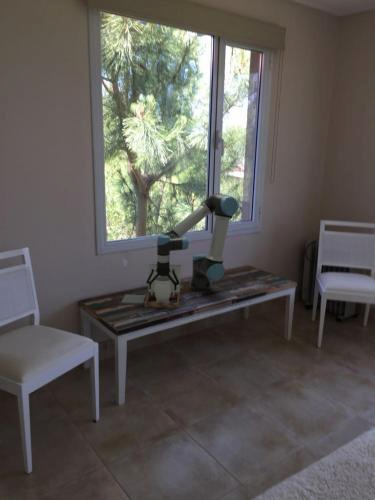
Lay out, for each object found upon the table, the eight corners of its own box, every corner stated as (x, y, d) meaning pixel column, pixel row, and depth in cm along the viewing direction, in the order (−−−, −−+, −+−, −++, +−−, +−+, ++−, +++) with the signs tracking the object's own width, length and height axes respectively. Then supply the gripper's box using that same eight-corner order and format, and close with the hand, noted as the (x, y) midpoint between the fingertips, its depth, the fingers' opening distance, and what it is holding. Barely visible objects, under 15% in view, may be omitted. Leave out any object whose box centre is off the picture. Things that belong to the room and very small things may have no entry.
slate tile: (145, 296, 263) (145, 295, 263) (142, 304, 250) (142, 303, 250) (125, 296, 263) (125, 294, 263) (121, 303, 251) (121, 302, 250)
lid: (179, 292, 262) (179, 292, 263) (180, 265, 262) (180, 265, 263) (148, 291, 263) (148, 290, 264) (149, 263, 263) (149, 263, 264)
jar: (168, 306, 249) (169, 282, 245) (152, 304, 251) (152, 280, 247) (172, 299, 259) (173, 277, 255) (156, 298, 261) (157, 275, 257)
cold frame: (179, 297, 263) (179, 293, 262) (178, 308, 247) (178, 303, 246) (148, 296, 264) (148, 291, 263) (144, 306, 247) (144, 302, 247)
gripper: (184, 260, 252) (183, 293, 257) (143, 258, 252) (143, 291, 258) (183, 263, 245) (182, 297, 250) (141, 262, 245) (141, 295, 251)
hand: (162, 294), depth 254 cm, fingers open, 13 cm apart
